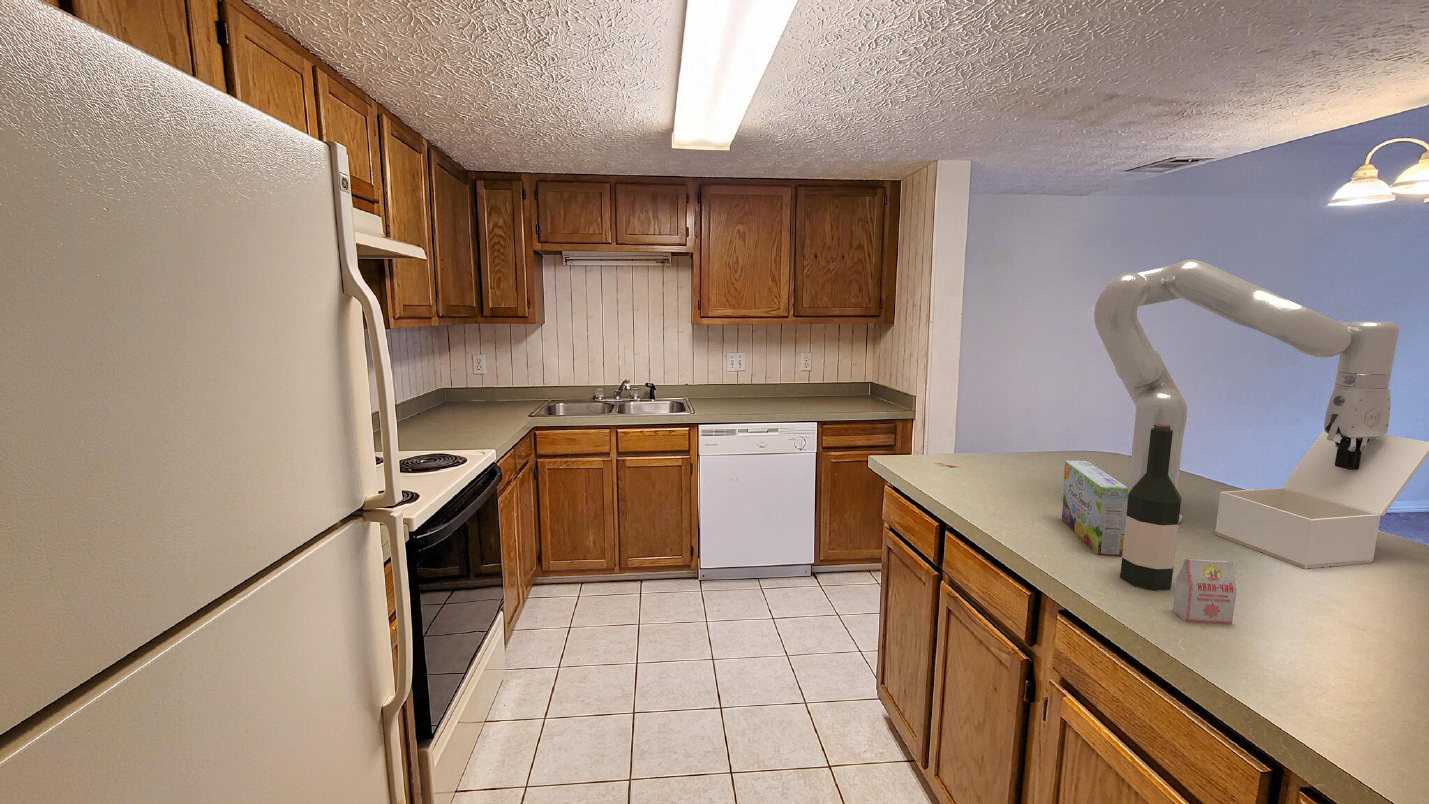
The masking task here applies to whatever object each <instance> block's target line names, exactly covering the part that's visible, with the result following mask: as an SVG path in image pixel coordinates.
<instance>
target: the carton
mask: <svg viewBox="0 0 1429 804" xmlns="http://www.w3.org/2000/svg"><path fill="white" fill-rule="evenodd" d="M1218 499H1219V500H1218V507H1217V515H1216V516H1217V517H1216V524H1215V532H1214V535H1215V536H1217V537H1219V538H1223V539H1225V540H1227V541H1230V542H1233V543H1236V544H1238V545H1241V546H1243V547H1246V548H1248V549H1252V550H1253V551H1256V550H1257V552H1259V553H1261V552H1263V553H1262V554H1263V555H1267V556H1269V557H1272V558H1274V559H1277V560H1279V561H1282V562H1285V563H1288V564H1290V565H1292V566H1295V567H1296V568H1297V567H1298V568H1301V569H1303V570H1307V569H1308V568H1311V569H1321V567H1323V568H1330V567H1329V566H1334V567H1343V566H1354V565H1355V566H1356V565H1364V564H1373V562H1374V556H1375V553H1376V552H1375V550H1376V546H1377V539H1378V533H1379V527H1380V521H1381V517H1382V516H1381V515H1379V514H1375V513H1372V512H1368V511H1365V510H1361V509H1357V508H1354V507H1350V506H1346V505H1343V504H1339V503H1335V502H1332V501H1328V500H1325V499H1321V498H1317V497H1314V496H1310V495H1306V494H1303V493H1299V492H1295V491H1292V490H1288V489H1285V488H1282V487H1272V488H1259V489H1258V488H1257V489H1244V490H1243V489H1242V490H1241V489H1240V490H1227V491H1220V492H1219V498H1218ZM1308 570H1309V569H1308Z"/></svg>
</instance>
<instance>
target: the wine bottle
mask: <svg viewBox="0 0 1429 804" xmlns="http://www.w3.org/2000/svg"><path fill="white" fill-rule="evenodd" d="M1170 427H1171V425H1167V424H1154V428H1151V433H1150V443H1149V452H1148V462H1147V471H1146V473H1145V475H1144V476H1143V477H1142V478H1141V479H1140V480H1139V481H1138V482H1137V483H1136V484H1135V485H1134V487H1133V488H1132V489H1131V490H1130V492H1129V494H1128V504H1127V514H1126V524H1125V534H1124V544H1123V553H1122V556H1121V564H1120V575H1119V579H1121V580H1123V581H1124V582H1125V583H1128V584H1129V585H1131V586H1133V587H1137V588H1141V589H1145V590H1149V591H1153V592H1157V591H1170V590H1171V589H1172V584H1173V583H1172V582H1173V574H1174V567H1175V559H1176V549H1177V541H1178V532H1179V524H1180V523H1179V516H1180V514H1181V507H1182V499H1183V498H1182V496H1181V494H1180V493H1179V491H1178V488H1177V489H1176V487H1175V486H1174V484H1173V482H1172V481H1171V479H1170V477H1169V475H1168V471H1169V462H1170V453H1171V444H1172V436H1173V430H1171V429H1170Z"/></svg>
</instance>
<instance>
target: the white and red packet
mask: <svg viewBox="0 0 1429 804" xmlns="http://www.w3.org/2000/svg"><path fill="white" fill-rule="evenodd" d="M1235 579H1236V578H1235V573H1234V562H1232V561H1229V560H1228V561H1227V560H1208V559H1207V560H1206V559H1193V558H1192V559H1191V558H1189V559H1188V558H1184V562H1183V564H1182V567H1181V568H1180V570H1179V572H1178V574H1177V576H1176V578H1175V586H1174V593H1173V602H1172V611H1173V612H1174V613H1175V614H1176V615H1177V616H1179V617H1180V618H1181V619H1182V620H1184V622H1192V623H1194V622H1195V623H1203V624H1205V623H1207V624H1208V623H1209V624H1218V625H1219V624H1220V625H1233V621H1234V620H1233V619H1234V612H1235V606H1236V598H1237V597H1236V596H1237V583H1236V580H1235Z"/></svg>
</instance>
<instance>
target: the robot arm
mask: <svg viewBox="0 0 1429 804" xmlns="http://www.w3.org/2000/svg"><path fill="white" fill-rule="evenodd" d="M1179 299H1180V300H1181V299H1183V300H1185V301H1187V302H1190V303H1192V304H1194V305H1195V306H1197V307H1200V308H1202V309H1204V310H1206V311H1209V312H1211V313H1213V314H1215V315H1217V316H1218V317H1221V318H1223V319H1225V320H1226V321H1230V322H1232V323H1234V324H1236V325H1238V326H1241V327H1245V328H1249V329H1251V330H1255V331H1258V332H1260V333H1263V334H1265V335H1268V336H1269V337H1271V338H1274V339H1276V340H1279V341H1280V342H1283V343H1285V344H1287V345H1289V346H1291V347H1292V348H1293V349H1294V350H1296V351H1297V352H1298V353H1302V354H1305V355H1308V356H1311V357H1315V358H1324V359H1325V358H1331V357H1334V356H1337V355H1339V359H1338V364H1337V370H1336V375H1335V379H1334V380H1335V381H1334V387H1333V390H1332V393H1331V395H1330V398H1329V402H1328V404H1327V408H1326V412H1325V415H1324V416H1325V417H1324V421H1323V422H1324V423H1323V430H1324V431H1325V432H1326V433H1328V436H1327V440H1328V441H1332V442H1335V447H1336V448H1337V454H1336V460H1335V466H1336V467H1340V468H1344V469H1348V470H1358V469H1359V465H1360V459H1361V454H1362V451H1364V449H1365V447H1366V444H1367V443H1368V442H1370V441H1373V440H1375V439H1376V437H1381V436H1384V435H1388V434H1387V433H1388V429H1389V425H1390V424H1389V423H1390V415H1391V392H1390V389H1389V386H1390V382H1391V377H1392V375H1391V374H1392V371H1393V366H1394V360H1395V354H1396V350H1397V345H1398V339H1399V332H1400V327H1399V325H1398V324H1397V323H1395V322H1392V321H1381V320H1378V321H1376V320H1373V321H1371V320H1368V321H1367V320H1362V321H1361V320H1359V321H1357V320H1355V321H1352V322H1348V321H1347V322H1346V321H1337V320H1335V319H1333V318H1331V317H1329V316H1326V315H1323V314H1322V313H1320V312H1317V311H1315V310H1313V309H1311V308H1308V307H1305V306H1304V305H1301V304H1299V303H1297V302H1294V301H1291V300H1289V299H1287V298H1284V296H1280V295H1278V294H1276V293H1274V292H1273V291H1270V290H1268V289H1266V288H1264V287H1262V286H1259V285H1257V284H1254V283H1252V282H1250V281H1247V280H1245V279H1243V278H1240V277H1238V276H1236V275H1234V274H1231V273H1229V272H1227V271H1225V270H1223V269H1221V268H1219V267H1216V266H1214V265H1211V264H1209V263H1207V262H1205V261H1202V260H1198V259H1184V260H1182V261H1180V262H1177V263H1174V264H1170V265H1166V266H1162V267H1158V268H1153V269H1147V270H1143V271H1138V272H1125V273H1122V274H1119V275H1118V276H1115V277H1114V278H1113V279H1111V280H1110V282H1109V283H1108V284H1107V285H1106V286H1105V287H1104V289H1103V290H1102V291H1101V292H1100V294H1099V296H1098V298H1097V299H1096V303H1095V306H1094V312H1093V320H1094V324H1095V328H1096V331H1097V333H1098V336H1099V338H1100V340H1101V342H1102V343H1103V346H1104V348H1105V350H1106V352H1107V354H1108V356H1109V358H1110V360H1111V362H1112V364H1113V366H1114V368H1115V369H1114V370H1115V372H1116V376H1118V378H1120V380H1121V382H1122V383H1123V385H1124V387H1125V388H1126V390H1127V392H1128V394H1129V396H1130V398H1131V400H1132V401H1133V403H1134V405H1135V419H1134V428H1133V437H1132V447H1131V459H1130V467H1129V468H1130V469H1129V477H1128V478H1129V479H1128V486H1127V487H1128V488H1129V491H1128V494H1129V492H1130V490H1131V489H1132V488H1133V487H1134V485H1135V484H1136V483H1137V482H1138V481H1139V480H1140V479H1141V478H1142V477H1143V476H1144V475H1145V473H1146V471H1147V462H1148V452H1149V443H1150V433H1151V428H1154V424H1167V425H1171V427H1170V429H1171V430H1173V436H1172V444H1171V453H1170V462H1169V471H1168V475H1169V477H1170V479H1171V481H1172V482H1173V484H1174V486H1175V487H1176V489H1177V490H1178V485H1179V474H1180V467H1181V459H1182V450H1183V449H1182V448H1183V442H1184V434H1185V429H1186V424H1187V417H1188V407H1187V403H1186V400H1185V397H1183V395H1182V394H1181V392H1180V391H1179V389H1178V387H1177V386H1176V383H1175V382H1174V380H1173V378H1172V376H1171V375H1170V372H1169V371H1168V369H1167V366H1166V365H1165V362H1164V361H1163V359H1162V357H1161V356H1160V354H1159V352H1157V351H1156V350H1155V349H1154V347H1153V345H1152V344H1151V342H1150V340H1149V338H1148V337H1147V334H1146V333H1145V330H1144V328H1143V326H1142V325H1141V323H1140V320H1139V318H1138V309H1139V307H1143V306H1147V305H1154V304H1160V303H1165V302H1170V301H1174V300H1179ZM1127 504H1128V501H1127ZM1126 514H1127V513H1126ZM1182 521H1183V515H1182V514H1181V513H1180V516H1179V524H1180V523H1181V522H1182Z"/></svg>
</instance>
